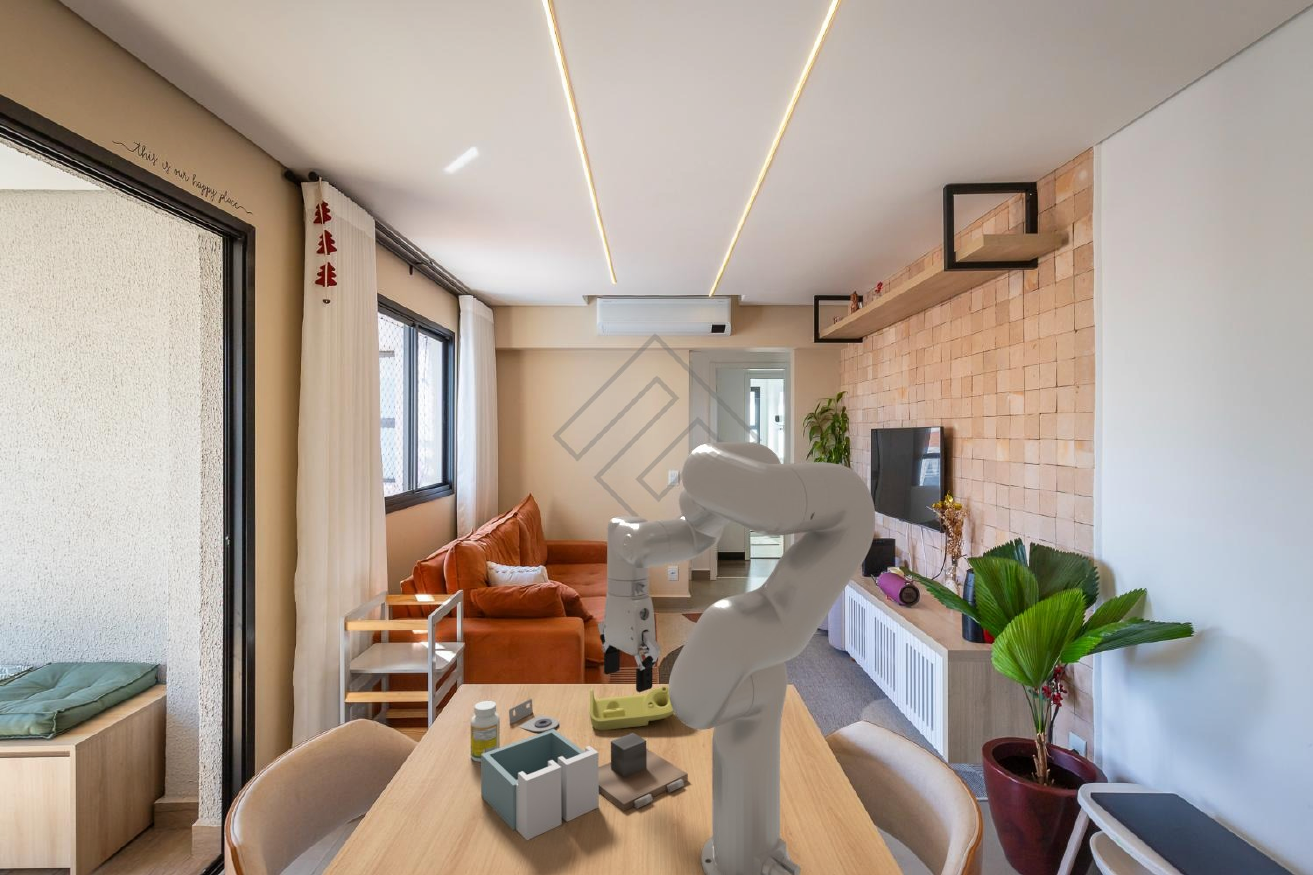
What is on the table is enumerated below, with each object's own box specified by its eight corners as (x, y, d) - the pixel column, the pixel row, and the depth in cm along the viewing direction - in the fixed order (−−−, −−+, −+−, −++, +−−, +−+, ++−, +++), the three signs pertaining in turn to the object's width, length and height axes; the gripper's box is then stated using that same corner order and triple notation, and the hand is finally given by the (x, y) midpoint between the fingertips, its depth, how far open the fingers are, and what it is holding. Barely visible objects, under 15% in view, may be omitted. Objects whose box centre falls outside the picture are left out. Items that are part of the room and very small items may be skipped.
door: (583, 780, 108) (583, 745, 108) (645, 753, 117) (645, 721, 117) (628, 814, 98) (627, 776, 98) (692, 783, 107) (692, 747, 107)
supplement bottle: (491, 764, 113) (491, 712, 113) (465, 761, 114) (465, 709, 114) (504, 749, 119) (504, 700, 119) (479, 746, 120) (479, 697, 120)
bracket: (543, 738, 124) (543, 720, 124) (508, 725, 129) (508, 709, 129) (565, 725, 129) (565, 708, 129) (531, 713, 135) (531, 698, 135)
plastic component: (589, 722, 125) (590, 683, 134) (593, 746, 128) (593, 706, 137) (685, 711, 126) (679, 674, 135) (686, 736, 130) (680, 697, 139)
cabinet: (481, 795, 103) (481, 742, 103) (553, 766, 112) (553, 717, 112) (523, 841, 92) (523, 781, 91) (601, 805, 100) (600, 751, 100)
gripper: (675, 592, 105) (674, 691, 105) (616, 574, 119) (616, 661, 119) (641, 600, 100) (640, 703, 101) (584, 579, 114) (583, 671, 114)
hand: (627, 680), depth 110 cm, fingers open, 9 cm apart
